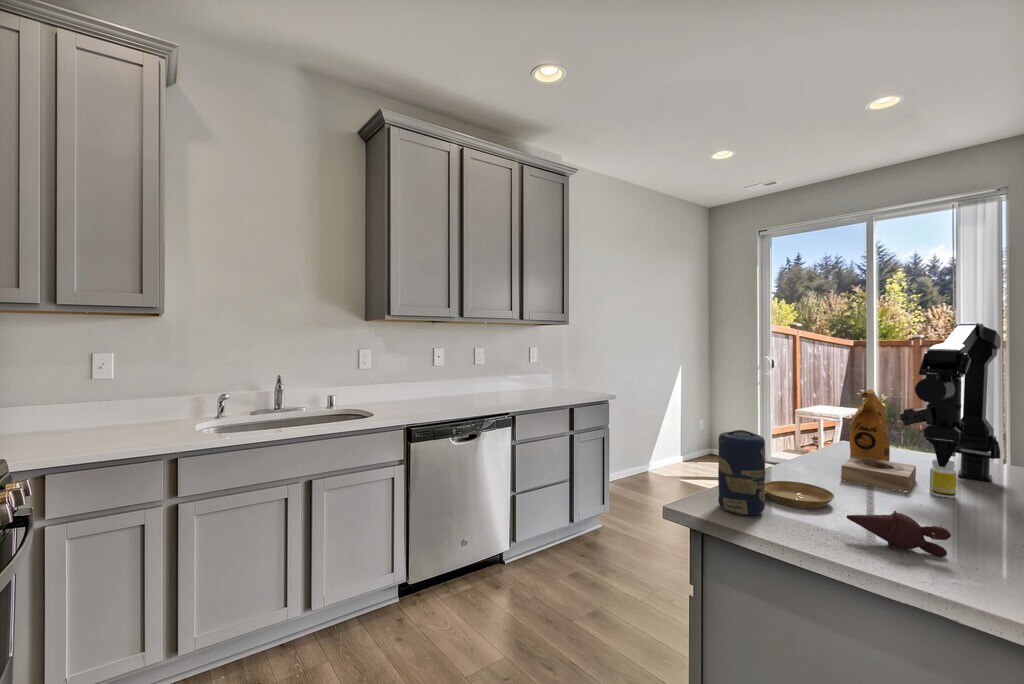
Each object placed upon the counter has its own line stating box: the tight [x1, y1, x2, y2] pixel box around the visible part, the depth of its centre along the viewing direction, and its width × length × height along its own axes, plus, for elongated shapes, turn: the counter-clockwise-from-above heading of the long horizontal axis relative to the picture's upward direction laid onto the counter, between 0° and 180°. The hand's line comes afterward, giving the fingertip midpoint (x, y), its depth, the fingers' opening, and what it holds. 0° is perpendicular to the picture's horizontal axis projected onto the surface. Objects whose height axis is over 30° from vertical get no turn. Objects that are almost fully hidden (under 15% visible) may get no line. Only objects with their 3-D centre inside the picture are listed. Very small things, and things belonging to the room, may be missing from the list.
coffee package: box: [849, 388, 891, 461], centre depth 145 cm, size 10×12×22 cm
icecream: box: [846, 510, 952, 558], centre depth 89 cm, size 7×7×15 cm
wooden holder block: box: [840, 456, 917, 493], centre depth 129 cm, size 14×14×4 cm
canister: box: [717, 429, 766, 516], centre depth 108 cm, size 10×10×18 cm
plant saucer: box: [765, 480, 835, 510], centre depth 114 cm, size 15×15×3 cm
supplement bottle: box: [929, 458, 957, 499], centre depth 117 cm, size 5×5×8 cm
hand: (943, 462), depth 117 cm, fingers open, 9 cm apart
